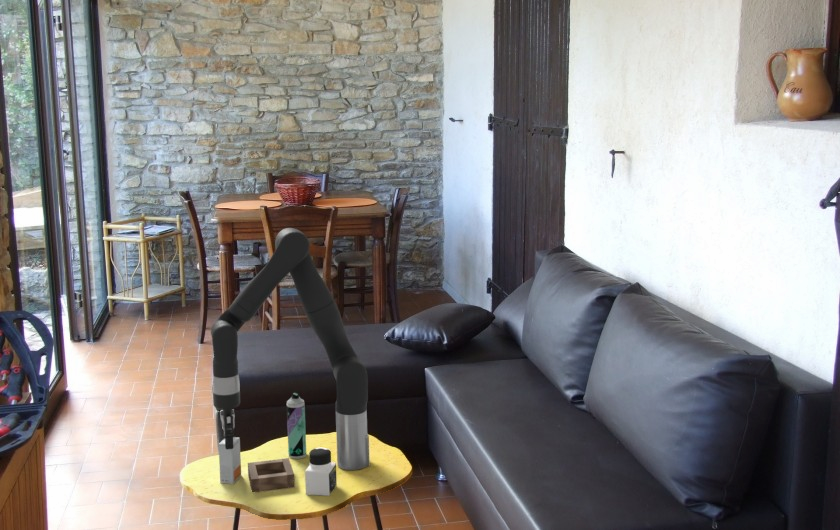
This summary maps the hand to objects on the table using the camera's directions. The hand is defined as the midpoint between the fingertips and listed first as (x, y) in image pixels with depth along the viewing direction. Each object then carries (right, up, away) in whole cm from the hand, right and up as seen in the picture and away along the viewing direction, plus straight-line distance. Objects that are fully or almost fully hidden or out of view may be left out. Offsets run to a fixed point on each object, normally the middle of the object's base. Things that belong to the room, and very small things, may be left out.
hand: (228, 443), depth 257 cm
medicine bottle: (+28, -12, -6) cm, 31 cm away
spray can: (+17, -8, +19) cm, 27 cm away
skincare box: (0, -11, +2) cm, 11 cm away
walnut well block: (+12, -11, 0) cm, 17 cm away
